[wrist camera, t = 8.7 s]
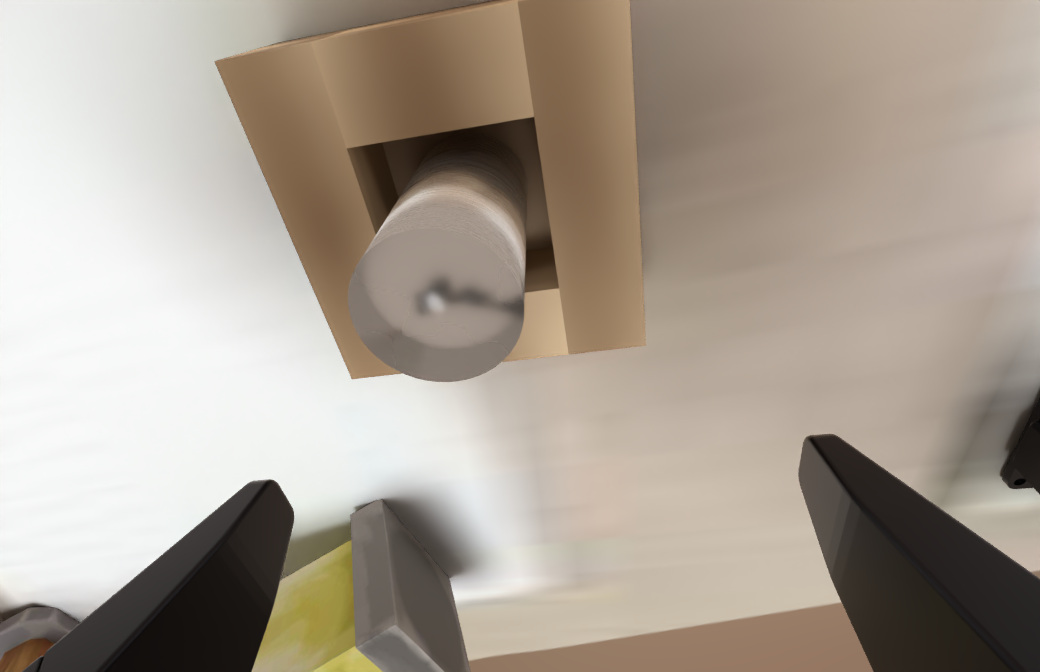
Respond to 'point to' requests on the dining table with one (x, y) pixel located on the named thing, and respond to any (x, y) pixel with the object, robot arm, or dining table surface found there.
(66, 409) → the dining table surface
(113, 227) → the dining table surface
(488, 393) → the dining table surface
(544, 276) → the bore block
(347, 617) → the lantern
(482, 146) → the pin
